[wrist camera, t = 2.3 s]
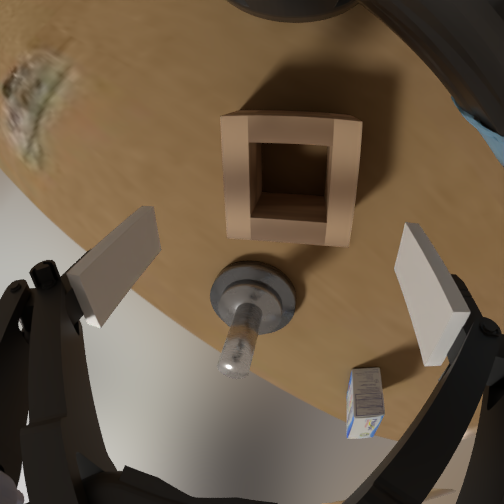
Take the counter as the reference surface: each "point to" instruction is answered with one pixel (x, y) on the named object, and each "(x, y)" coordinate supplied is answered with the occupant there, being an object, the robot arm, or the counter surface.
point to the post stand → (250, 310)
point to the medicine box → (364, 403)
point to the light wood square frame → (281, 204)
